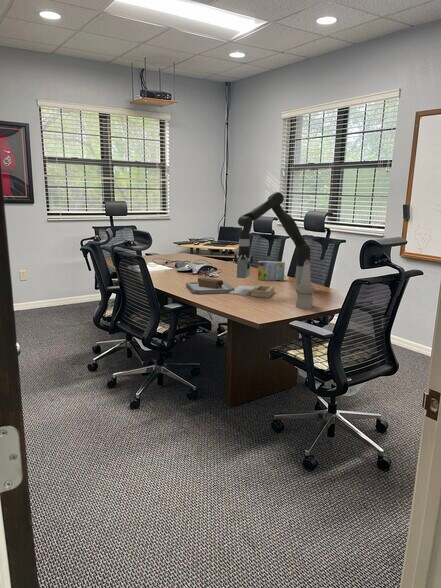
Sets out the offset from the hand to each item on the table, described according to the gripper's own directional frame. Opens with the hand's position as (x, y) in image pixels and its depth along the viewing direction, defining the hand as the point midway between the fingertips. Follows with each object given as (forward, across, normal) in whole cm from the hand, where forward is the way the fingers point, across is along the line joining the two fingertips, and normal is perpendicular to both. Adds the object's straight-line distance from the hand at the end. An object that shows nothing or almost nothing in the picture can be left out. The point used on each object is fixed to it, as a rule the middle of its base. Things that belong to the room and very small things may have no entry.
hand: (243, 268), depth 310 cm
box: (+6, 0, 0) cm, 6 cm away
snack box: (+17, -9, -50) cm, 53 cm away
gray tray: (+17, +24, +4) cm, 30 cm away
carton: (+16, -16, +4) cm, 23 cm away
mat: (+16, 0, 0) cm, 16 cm away
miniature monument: (+16, -48, +26) cm, 57 cm away
